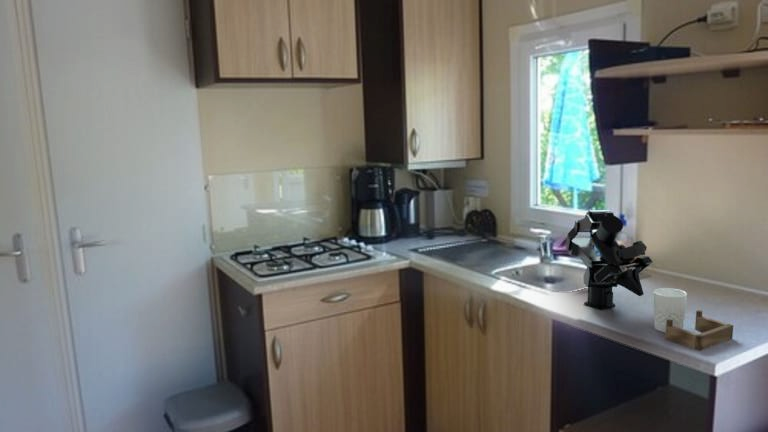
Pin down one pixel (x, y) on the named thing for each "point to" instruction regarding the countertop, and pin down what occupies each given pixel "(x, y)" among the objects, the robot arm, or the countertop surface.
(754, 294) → the countertop surface
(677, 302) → the white cup
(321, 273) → the countertop surface
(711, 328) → the rack
